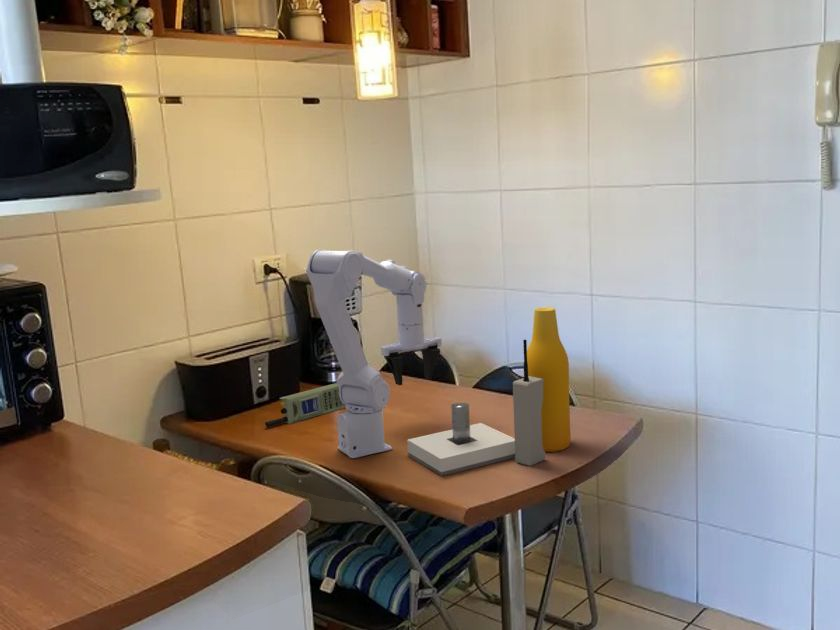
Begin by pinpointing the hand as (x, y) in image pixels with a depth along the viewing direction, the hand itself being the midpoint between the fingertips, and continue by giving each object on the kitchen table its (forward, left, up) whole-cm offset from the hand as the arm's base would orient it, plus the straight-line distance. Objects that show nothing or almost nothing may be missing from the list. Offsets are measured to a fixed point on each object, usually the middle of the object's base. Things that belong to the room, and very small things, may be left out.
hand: (413, 381), depth 192 cm
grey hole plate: (-2, -24, -10) cm, 26 cm away
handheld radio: (-17, +22, -11) cm, 30 cm away
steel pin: (-2, -24, -10) cm, 26 cm away
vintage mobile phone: (+7, -35, -11) cm, 37 cm away
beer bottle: (+16, -29, -11) cm, 35 cm away
